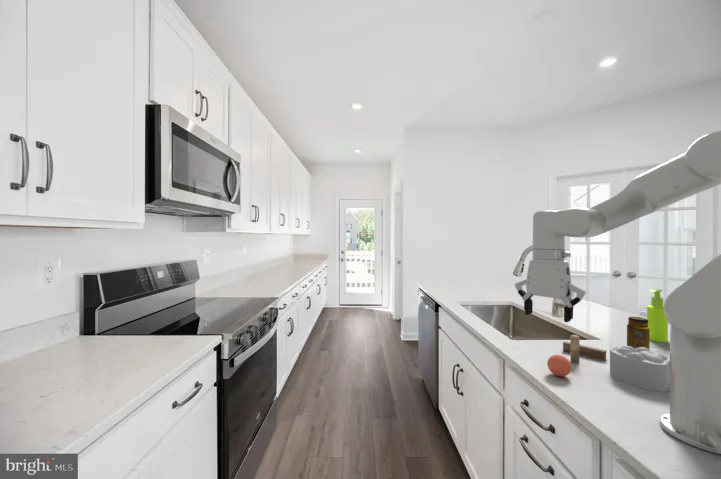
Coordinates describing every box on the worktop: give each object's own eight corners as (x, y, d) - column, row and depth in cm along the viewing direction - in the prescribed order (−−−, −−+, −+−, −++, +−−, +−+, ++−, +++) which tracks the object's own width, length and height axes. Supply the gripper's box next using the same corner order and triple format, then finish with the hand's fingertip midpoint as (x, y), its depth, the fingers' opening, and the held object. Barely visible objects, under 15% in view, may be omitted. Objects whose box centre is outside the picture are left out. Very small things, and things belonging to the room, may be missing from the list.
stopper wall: (604, 360, 103) (604, 351, 103) (563, 350, 112) (563, 342, 112) (606, 359, 104) (606, 350, 104) (564, 349, 113) (564, 341, 113)
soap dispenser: (642, 339, 124) (642, 289, 124) (651, 336, 127) (651, 287, 127) (661, 343, 119) (661, 291, 118) (670, 341, 121) (670, 289, 121)
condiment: (654, 352, 110) (654, 318, 110) (646, 358, 105) (646, 322, 105) (627, 346, 116) (627, 314, 116) (619, 351, 111) (619, 317, 111)
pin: (580, 364, 100) (580, 337, 100) (571, 362, 101) (571, 336, 101) (578, 361, 102) (578, 335, 102) (569, 360, 103) (569, 334, 103)
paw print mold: (664, 394, 81) (664, 361, 81) (603, 376, 91) (603, 347, 91) (674, 383, 87) (674, 352, 87) (616, 367, 97) (616, 340, 97)
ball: (573, 381, 88) (573, 360, 88) (548, 377, 90) (548, 357, 90) (569, 373, 93) (569, 353, 93) (546, 369, 96) (546, 350, 96)
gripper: (590, 256, 81) (589, 321, 82) (521, 253, 95) (520, 309, 95) (581, 258, 77) (580, 327, 77) (510, 254, 90) (509, 313, 90)
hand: (547, 317), depth 86 cm, fingers open, 9 cm apart
